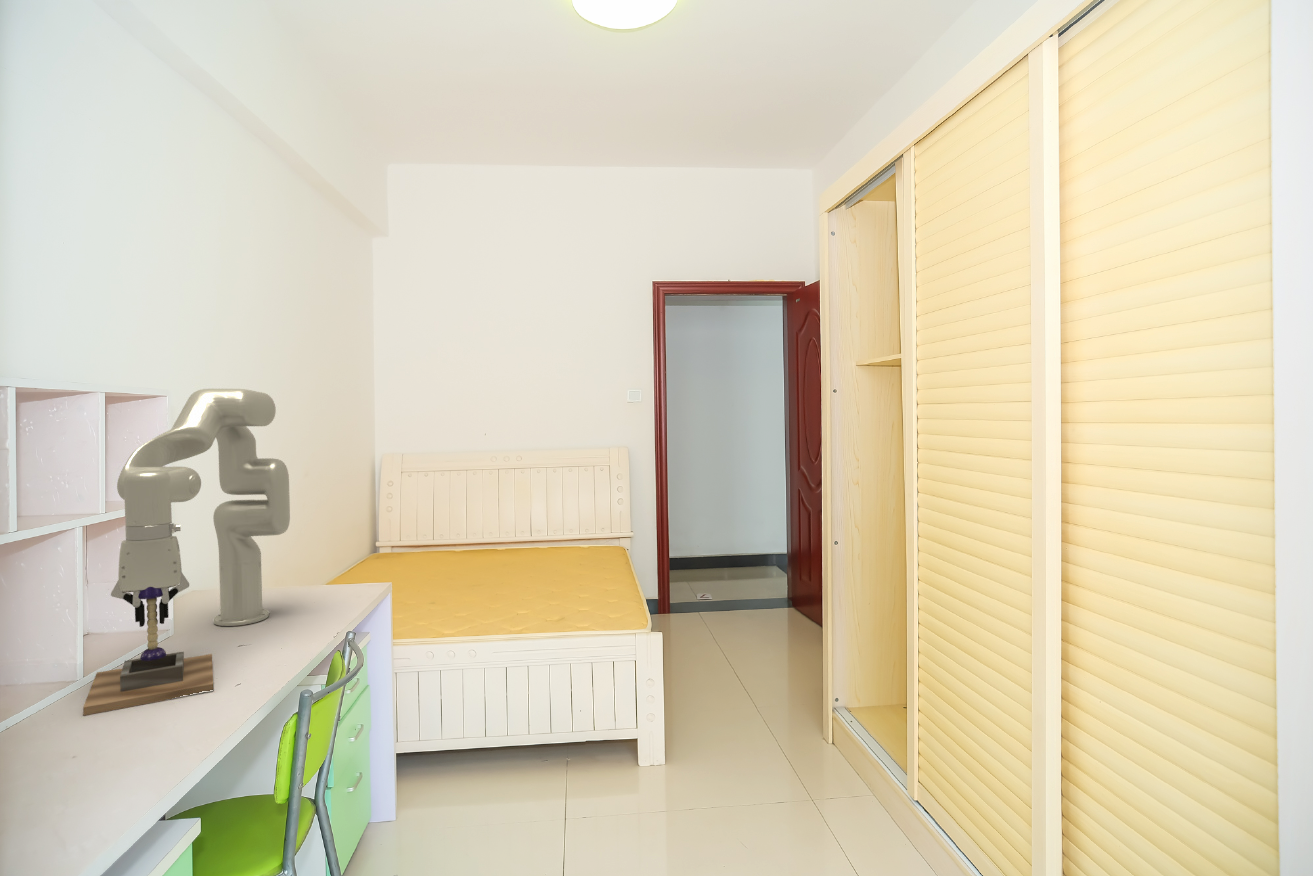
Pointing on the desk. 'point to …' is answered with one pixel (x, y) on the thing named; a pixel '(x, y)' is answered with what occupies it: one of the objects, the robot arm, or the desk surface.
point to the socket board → (149, 682)
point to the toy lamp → (152, 624)
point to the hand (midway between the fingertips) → (152, 622)
